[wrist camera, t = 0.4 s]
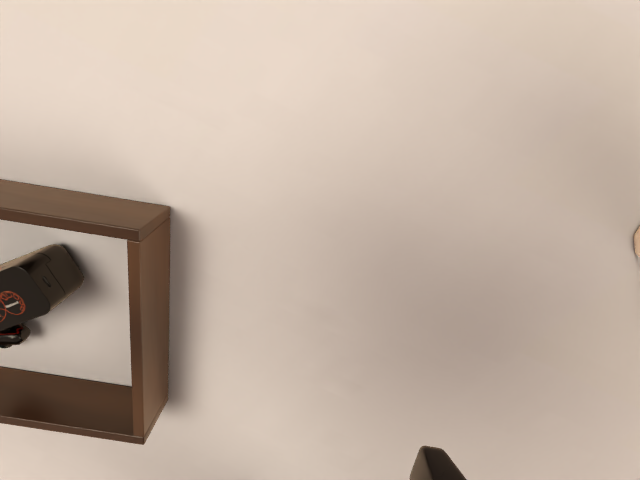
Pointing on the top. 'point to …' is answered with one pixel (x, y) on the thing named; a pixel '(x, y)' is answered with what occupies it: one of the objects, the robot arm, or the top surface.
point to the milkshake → (637, 242)
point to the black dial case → (34, 289)
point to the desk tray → (145, 320)
